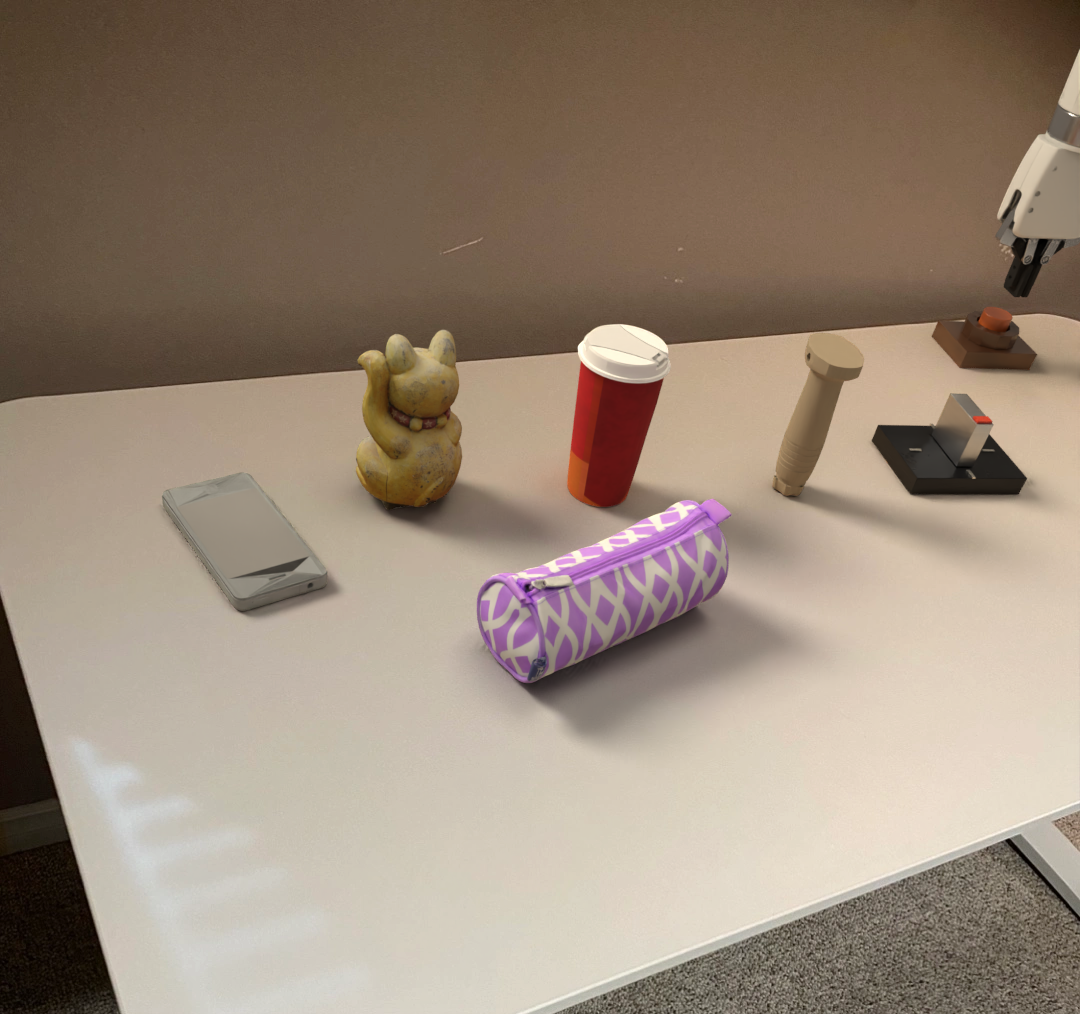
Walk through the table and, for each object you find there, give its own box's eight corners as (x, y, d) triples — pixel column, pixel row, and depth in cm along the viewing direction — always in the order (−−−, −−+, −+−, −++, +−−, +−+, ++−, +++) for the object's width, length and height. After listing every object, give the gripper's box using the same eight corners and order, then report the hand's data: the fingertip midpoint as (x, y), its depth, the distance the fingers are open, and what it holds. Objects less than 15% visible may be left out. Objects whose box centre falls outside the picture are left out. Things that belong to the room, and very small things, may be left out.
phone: (249, 482, 97) (248, 470, 96) (332, 585, 89) (332, 573, 88) (160, 503, 93) (158, 491, 93) (238, 614, 85) (237, 601, 84)
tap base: (974, 441, 121) (983, 424, 120) (1019, 494, 115) (1028, 477, 113) (870, 440, 118) (878, 422, 117) (910, 495, 112) (918, 477, 110)
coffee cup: (653, 487, 106) (689, 344, 95) (614, 525, 101) (648, 378, 90) (579, 454, 108) (607, 310, 97) (538, 490, 103) (562, 342, 92)
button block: (999, 339, 141) (1012, 309, 138) (1029, 370, 136) (1044, 340, 133) (931, 336, 139) (943, 306, 136) (959, 368, 134) (973, 337, 131)
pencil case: (528, 714, 82) (545, 620, 75) (455, 643, 86) (465, 548, 80) (724, 615, 94) (754, 526, 87) (650, 557, 98) (674, 468, 91)
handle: (774, 507, 106) (823, 366, 96) (755, 469, 111) (800, 331, 100) (819, 508, 107) (873, 369, 97) (798, 471, 112) (848, 334, 101)
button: (997, 320, 137) (1004, 306, 135) (1011, 334, 134) (1018, 320, 133) (972, 319, 136) (978, 305, 134) (986, 333, 133) (992, 319, 132)
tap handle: (931, 435, 117) (951, 391, 113) (947, 435, 117) (968, 391, 113) (956, 466, 113) (977, 422, 109) (973, 466, 113) (994, 422, 109)
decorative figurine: (434, 460, 104) (446, 310, 93) (479, 507, 100) (497, 356, 89) (343, 482, 99) (345, 327, 89) (386, 532, 95) (394, 376, 84)
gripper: (1124, 120, 123) (1052, 279, 136) (1008, 114, 120) (946, 277, 133) (1162, 144, 118) (1084, 307, 131) (1042, 139, 115) (974, 306, 128)
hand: (1014, 292), depth 132 cm, fingers closed
